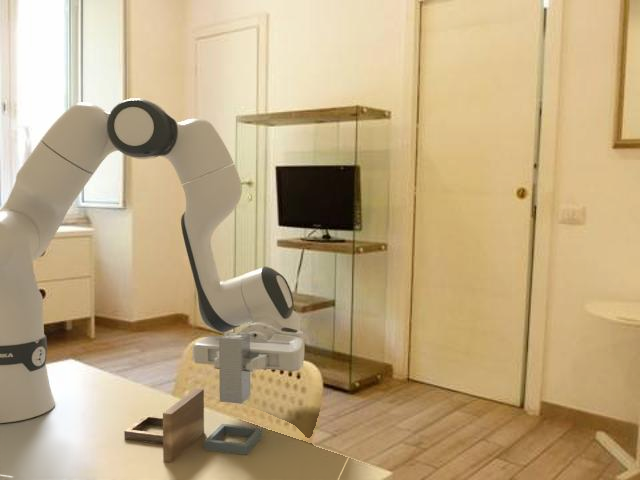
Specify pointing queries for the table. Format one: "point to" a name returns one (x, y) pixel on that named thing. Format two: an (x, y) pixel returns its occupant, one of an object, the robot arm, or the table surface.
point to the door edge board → (183, 424)
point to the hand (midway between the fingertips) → (232, 365)
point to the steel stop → (234, 367)
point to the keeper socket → (231, 447)
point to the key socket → (138, 435)
